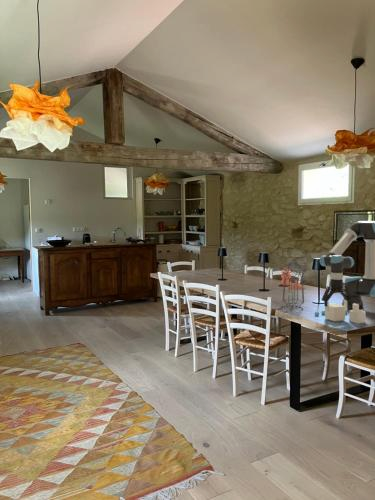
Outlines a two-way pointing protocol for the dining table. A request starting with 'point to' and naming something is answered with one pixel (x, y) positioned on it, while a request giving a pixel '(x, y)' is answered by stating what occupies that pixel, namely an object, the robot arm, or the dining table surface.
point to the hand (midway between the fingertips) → (336, 310)
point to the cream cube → (335, 312)
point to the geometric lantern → (293, 280)
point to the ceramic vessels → (290, 281)
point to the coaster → (336, 321)
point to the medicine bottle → (357, 314)
